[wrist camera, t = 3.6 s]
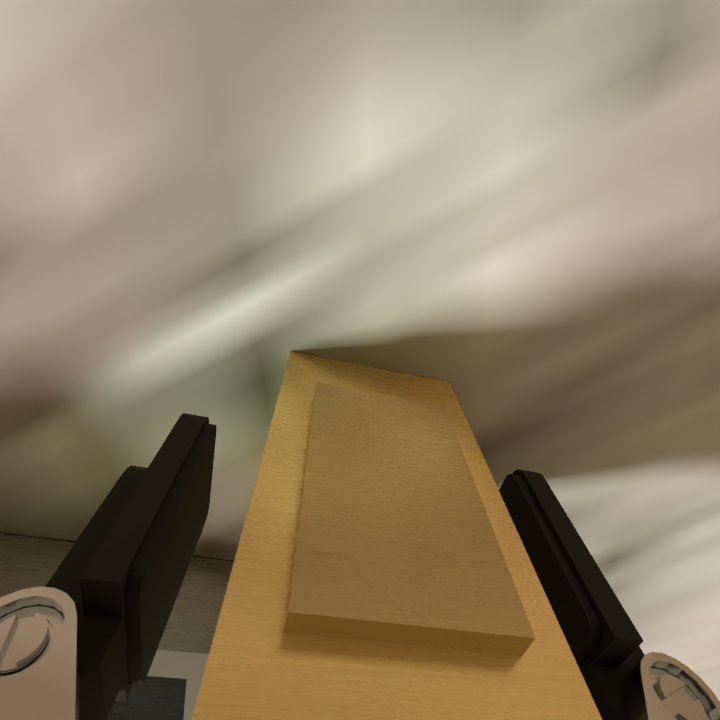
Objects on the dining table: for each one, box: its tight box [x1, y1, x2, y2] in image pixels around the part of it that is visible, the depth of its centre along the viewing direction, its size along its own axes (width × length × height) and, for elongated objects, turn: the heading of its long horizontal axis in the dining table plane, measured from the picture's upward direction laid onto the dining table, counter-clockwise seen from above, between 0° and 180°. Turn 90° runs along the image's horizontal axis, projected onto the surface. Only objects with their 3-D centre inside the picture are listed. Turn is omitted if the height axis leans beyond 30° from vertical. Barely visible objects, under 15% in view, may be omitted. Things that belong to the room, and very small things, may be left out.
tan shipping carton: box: [191, 351, 602, 720], centre depth 9 cm, size 5×4×8 cm
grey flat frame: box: [0, 533, 234, 720], centre depth 15 cm, size 20×9×3 cm, turn 77°
